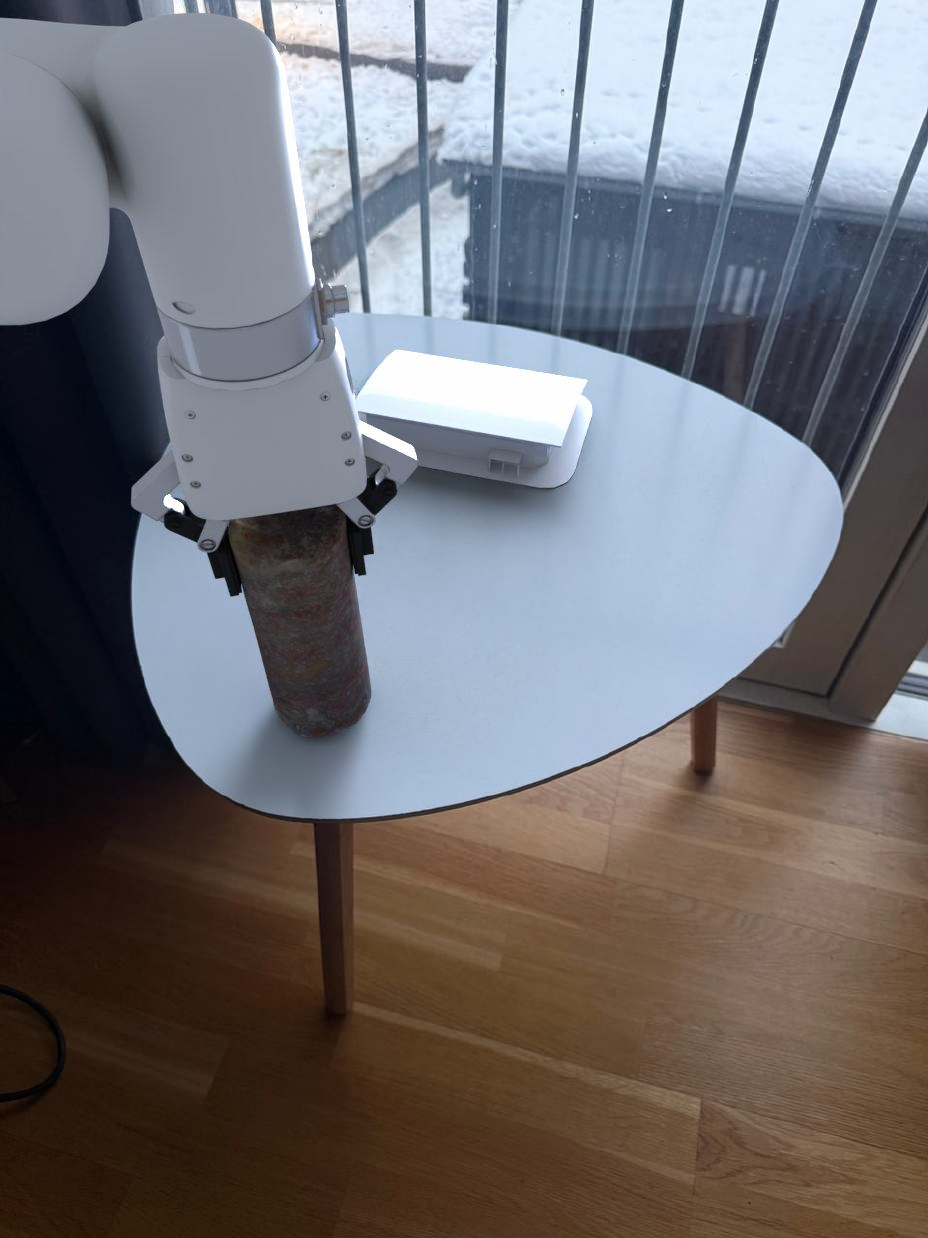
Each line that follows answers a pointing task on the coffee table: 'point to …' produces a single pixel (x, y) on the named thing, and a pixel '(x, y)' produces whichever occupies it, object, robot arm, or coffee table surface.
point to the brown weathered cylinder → (305, 615)
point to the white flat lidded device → (480, 417)
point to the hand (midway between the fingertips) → (296, 568)
